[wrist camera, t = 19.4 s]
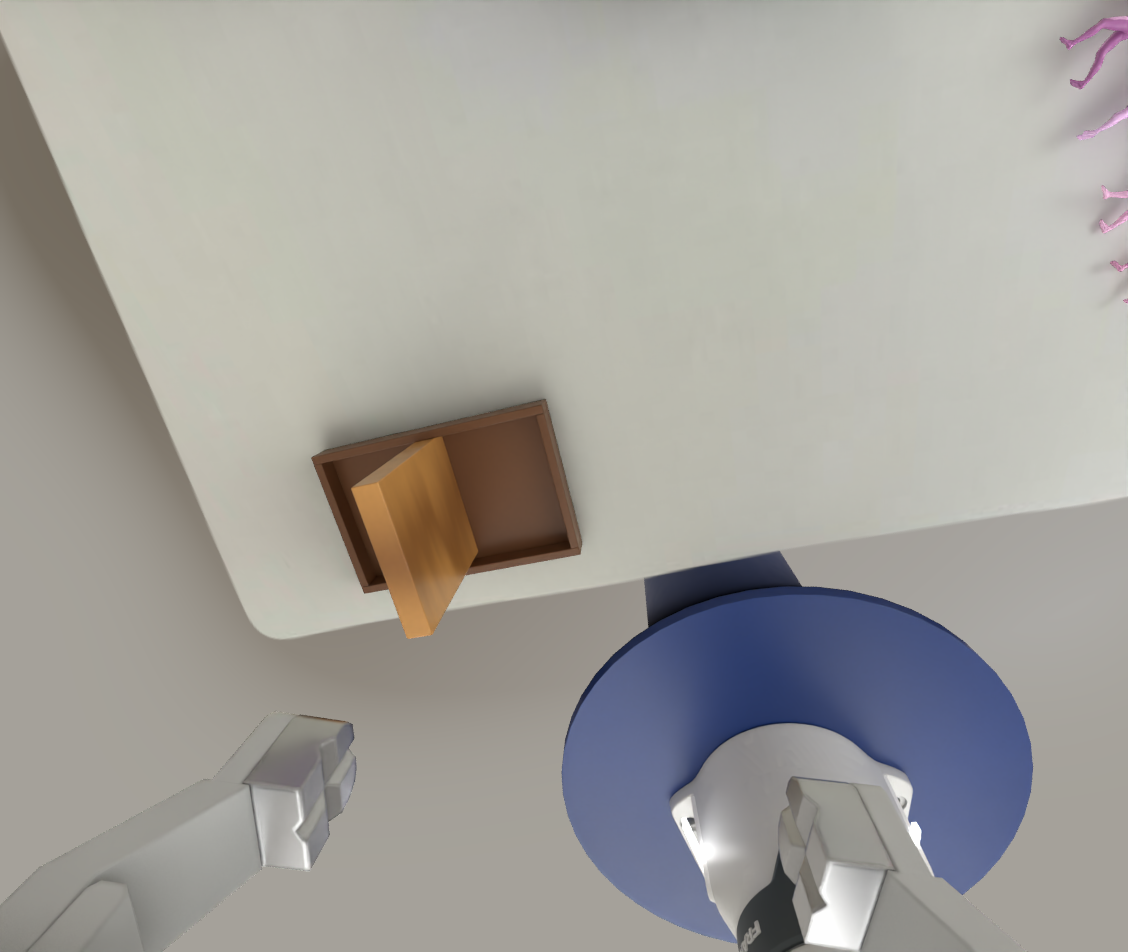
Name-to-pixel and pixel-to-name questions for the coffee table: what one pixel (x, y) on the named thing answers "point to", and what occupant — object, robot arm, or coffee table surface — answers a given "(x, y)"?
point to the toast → (418, 532)
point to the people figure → (1123, 30)
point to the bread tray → (471, 488)
